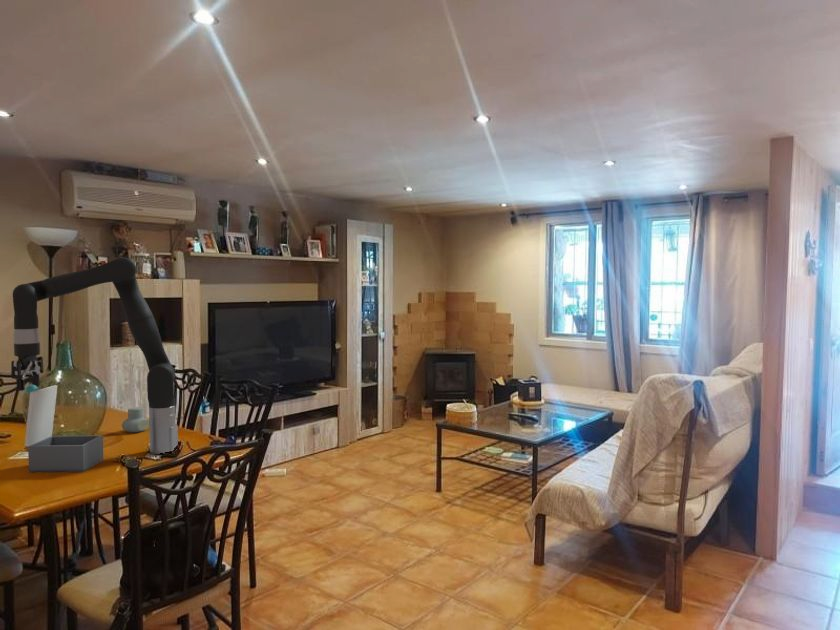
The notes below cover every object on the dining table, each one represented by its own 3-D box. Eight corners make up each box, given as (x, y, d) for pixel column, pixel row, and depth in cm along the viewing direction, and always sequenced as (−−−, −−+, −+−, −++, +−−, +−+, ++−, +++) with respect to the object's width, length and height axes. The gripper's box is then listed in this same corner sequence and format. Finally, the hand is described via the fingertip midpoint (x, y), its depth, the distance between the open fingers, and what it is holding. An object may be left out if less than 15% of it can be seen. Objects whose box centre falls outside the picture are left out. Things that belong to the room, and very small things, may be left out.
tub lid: (57, 383, 214) (39, 380, 214) (33, 389, 200) (13, 387, 200) (51, 435, 215) (33, 433, 215) (27, 446, 201) (7, 444, 201)
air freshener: (136, 427, 266) (136, 405, 266) (152, 428, 264) (152, 406, 264) (118, 433, 256) (118, 410, 255) (135, 434, 254) (134, 411, 253)
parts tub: (103, 459, 216) (102, 435, 216) (83, 471, 202) (82, 445, 202) (52, 460, 215) (51, 436, 215) (28, 472, 201) (28, 446, 201)
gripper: (25, 343, 199) (27, 392, 200) (49, 339, 213) (51, 385, 214) (2, 343, 199) (4, 392, 200) (28, 340, 213) (29, 385, 214)
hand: (28, 388), depth 207 cm, fingers open, 8 cm apart
